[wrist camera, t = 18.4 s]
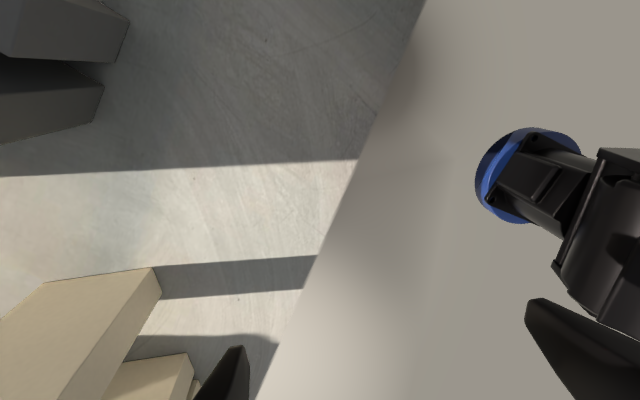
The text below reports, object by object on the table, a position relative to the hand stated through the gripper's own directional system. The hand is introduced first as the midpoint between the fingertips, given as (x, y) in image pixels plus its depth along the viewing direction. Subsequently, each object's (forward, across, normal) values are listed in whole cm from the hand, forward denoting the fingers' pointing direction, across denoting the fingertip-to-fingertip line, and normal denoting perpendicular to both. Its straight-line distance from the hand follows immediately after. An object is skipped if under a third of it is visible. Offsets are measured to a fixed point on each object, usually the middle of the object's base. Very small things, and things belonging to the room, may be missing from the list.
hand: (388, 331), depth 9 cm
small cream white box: (+13, +18, +6) cm, 23 cm away
